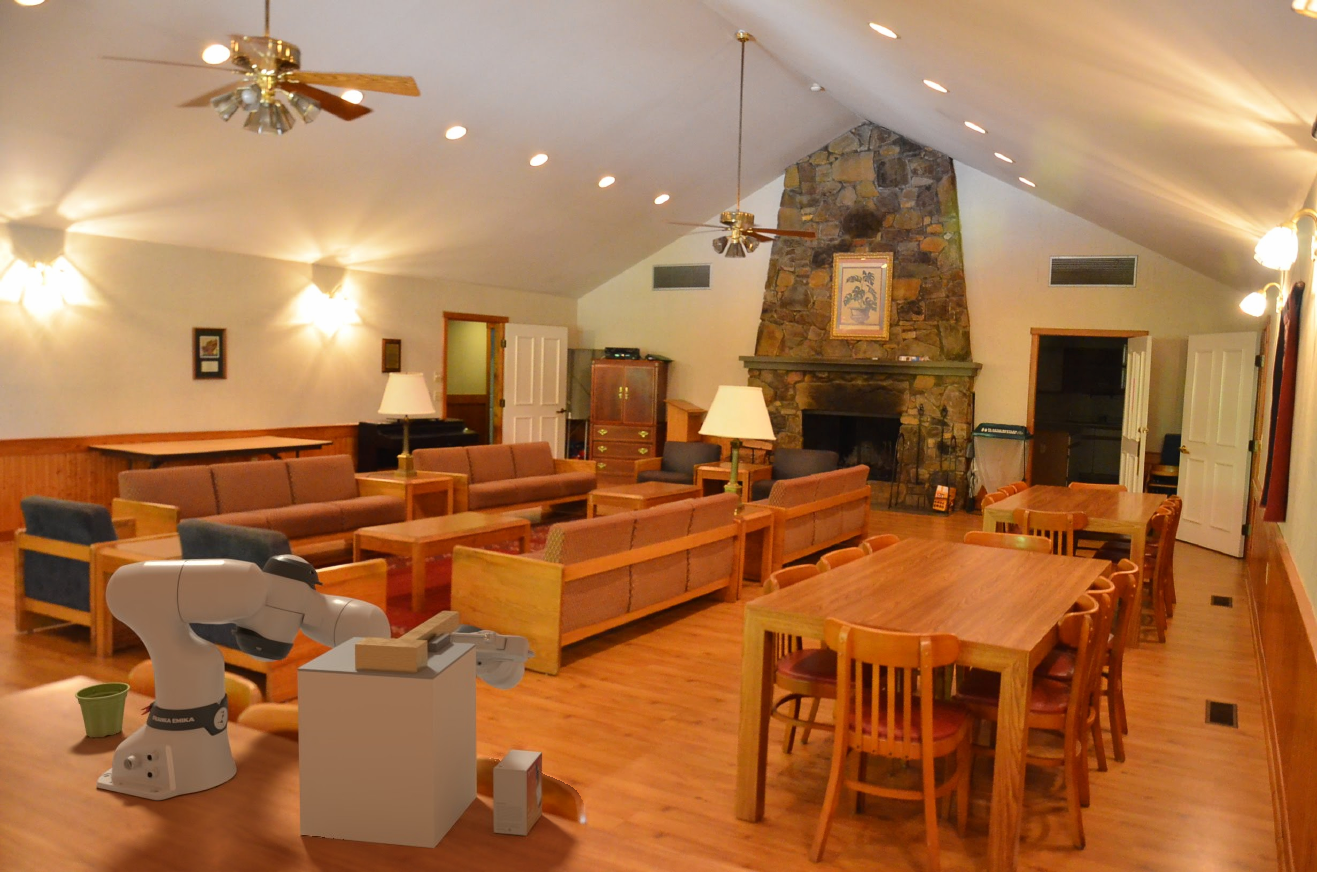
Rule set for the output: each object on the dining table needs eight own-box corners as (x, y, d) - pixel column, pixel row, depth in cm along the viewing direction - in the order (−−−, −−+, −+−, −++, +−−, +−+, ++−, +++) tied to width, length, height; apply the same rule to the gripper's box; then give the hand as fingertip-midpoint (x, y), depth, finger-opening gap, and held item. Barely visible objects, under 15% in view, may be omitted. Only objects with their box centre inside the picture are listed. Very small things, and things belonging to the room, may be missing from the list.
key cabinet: (300, 835, 148) (297, 658, 146) (356, 786, 166) (353, 628, 164) (434, 847, 144) (432, 666, 143) (476, 796, 162) (475, 634, 160)
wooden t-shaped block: (355, 669, 146) (354, 644, 146) (424, 626, 172) (424, 604, 171) (416, 673, 144) (416, 647, 144) (477, 628, 170) (477, 606, 170)
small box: (526, 837, 148) (526, 771, 147) (492, 833, 149) (492, 767, 149) (543, 814, 156) (543, 751, 155) (510, 810, 157) (510, 748, 156)
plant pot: (113, 741, 185) (112, 698, 185) (65, 741, 185) (64, 697, 185) (140, 724, 194) (139, 682, 194) (94, 723, 195) (93, 682, 194)
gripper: (535, 673, 184) (515, 655, 172) (435, 667, 188) (408, 649, 175) (540, 641, 187) (520, 621, 175) (441, 635, 190) (415, 616, 178)
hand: (463, 635), depth 175 cm, fingers open, 8 cm apart
